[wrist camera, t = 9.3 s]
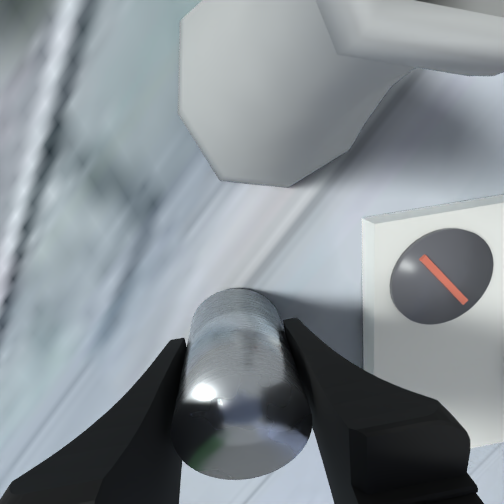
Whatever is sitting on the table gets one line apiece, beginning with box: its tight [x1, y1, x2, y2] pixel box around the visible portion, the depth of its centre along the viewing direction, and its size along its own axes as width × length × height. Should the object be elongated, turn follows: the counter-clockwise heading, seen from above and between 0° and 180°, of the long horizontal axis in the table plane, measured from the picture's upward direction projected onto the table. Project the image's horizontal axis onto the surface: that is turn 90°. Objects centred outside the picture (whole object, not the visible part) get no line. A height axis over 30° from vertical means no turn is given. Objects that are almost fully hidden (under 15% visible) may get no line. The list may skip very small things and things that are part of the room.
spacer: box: [171, 289, 312, 480], centre depth 11 cm, size 4×4×6 cm
